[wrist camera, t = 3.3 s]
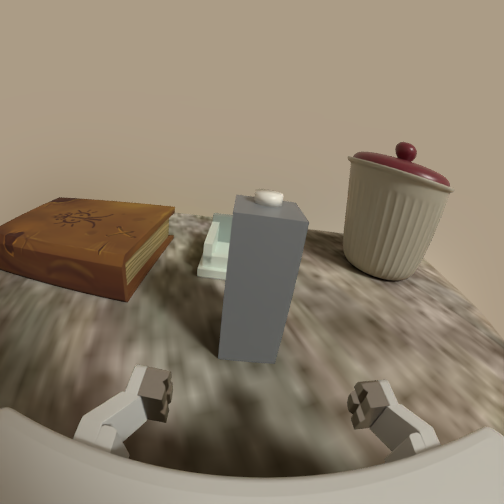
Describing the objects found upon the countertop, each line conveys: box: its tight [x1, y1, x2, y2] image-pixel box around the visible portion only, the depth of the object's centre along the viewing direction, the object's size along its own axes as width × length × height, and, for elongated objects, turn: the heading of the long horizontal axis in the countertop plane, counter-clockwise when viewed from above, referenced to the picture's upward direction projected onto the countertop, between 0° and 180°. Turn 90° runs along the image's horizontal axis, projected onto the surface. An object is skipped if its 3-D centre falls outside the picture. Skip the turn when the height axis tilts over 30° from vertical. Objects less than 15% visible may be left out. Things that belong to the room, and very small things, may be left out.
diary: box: [0, 197, 175, 302], centre depth 32 cm, size 23×19×6 cm
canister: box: [343, 142, 454, 281], centre depth 39 cm, size 18×18×21 cm
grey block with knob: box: [218, 189, 309, 364], centre depth 21 cm, size 5×5×13 cm
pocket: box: [197, 213, 233, 280], centre depth 37 cm, size 10×11×5 cm
